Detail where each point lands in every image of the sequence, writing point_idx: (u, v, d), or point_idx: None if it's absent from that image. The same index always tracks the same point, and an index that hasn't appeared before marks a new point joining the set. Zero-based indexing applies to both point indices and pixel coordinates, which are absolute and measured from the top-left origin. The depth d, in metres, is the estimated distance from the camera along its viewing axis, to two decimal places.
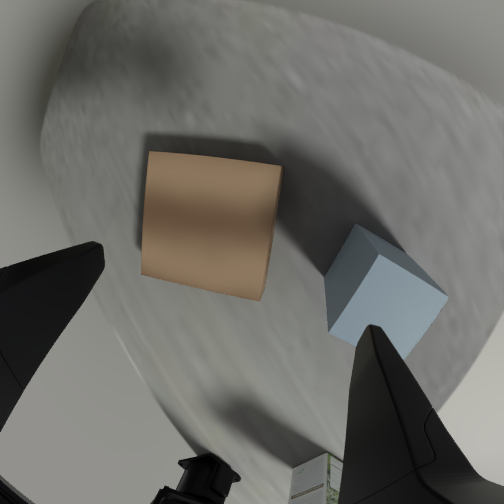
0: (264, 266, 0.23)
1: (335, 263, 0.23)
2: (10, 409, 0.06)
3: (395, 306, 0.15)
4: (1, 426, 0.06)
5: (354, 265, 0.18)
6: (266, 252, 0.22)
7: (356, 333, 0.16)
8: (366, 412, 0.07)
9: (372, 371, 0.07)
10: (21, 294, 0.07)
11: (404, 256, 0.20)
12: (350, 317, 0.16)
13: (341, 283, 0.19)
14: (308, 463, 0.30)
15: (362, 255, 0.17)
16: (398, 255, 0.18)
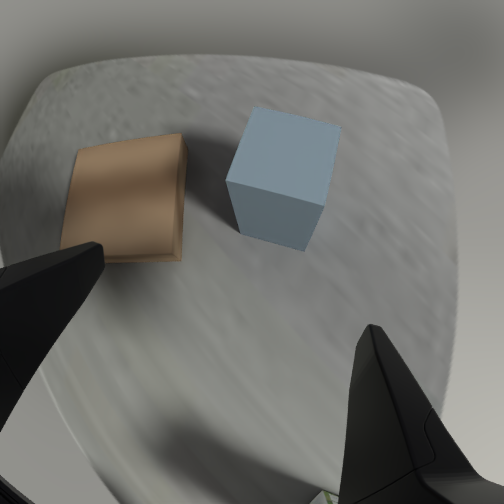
0: (173, 215, 0.22)
1: None
2: (10, 409, 0.06)
3: (287, 141, 0.16)
4: (1, 426, 0.06)
5: None
6: (173, 201, 0.22)
7: (256, 174, 0.15)
8: (366, 412, 0.07)
9: (372, 371, 0.07)
10: (21, 294, 0.07)
11: None
12: (244, 160, 0.15)
13: None
14: None
15: None
16: None
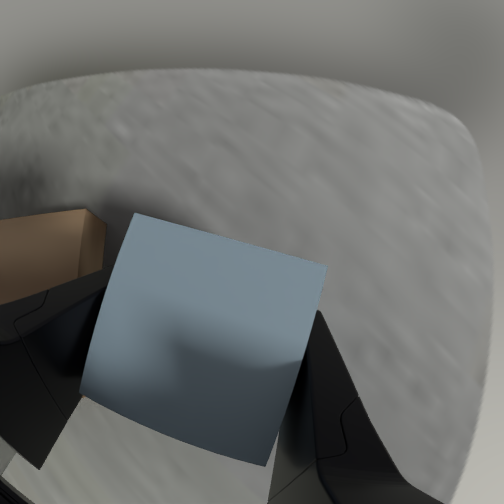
0: None
1: None
2: (52, 441, 0.06)
3: (194, 314, 0.07)
4: (43, 460, 0.06)
5: None
6: None
7: (129, 391, 0.07)
8: (293, 397, 0.07)
9: None
10: (68, 321, 0.06)
11: None
12: (107, 355, 0.07)
13: None
14: None
15: None
16: None
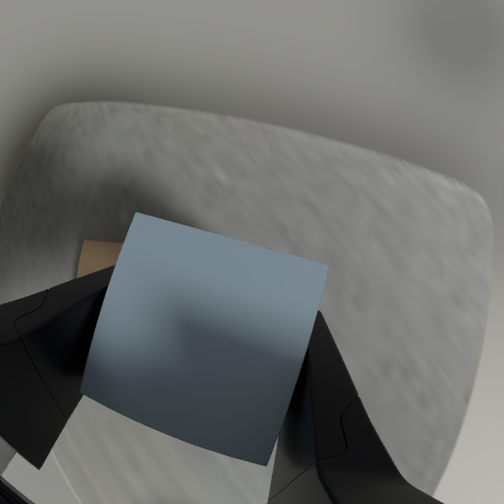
0: None
1: None
2: (52, 441, 0.06)
3: (196, 313, 0.07)
4: (43, 460, 0.06)
5: None
6: None
7: (130, 391, 0.07)
8: (293, 397, 0.07)
9: None
10: (68, 321, 0.06)
11: None
12: (108, 355, 0.07)
13: None
14: None
15: None
16: None
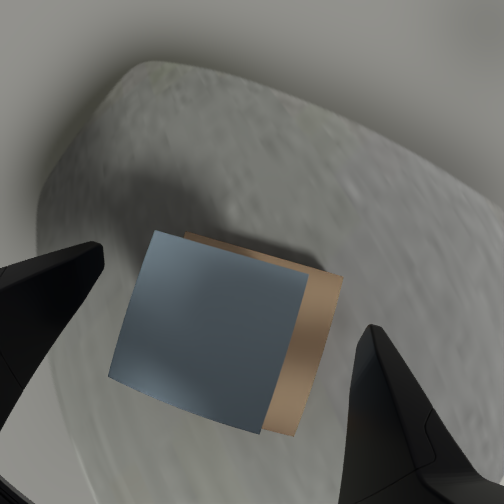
0: (308, 394, 0.16)
1: None
2: (9, 409, 0.06)
3: (204, 311, 0.09)
4: (1, 426, 0.06)
5: None
6: (313, 377, 0.17)
7: (151, 373, 0.09)
8: (367, 412, 0.07)
9: (373, 371, 0.07)
10: (20, 294, 0.07)
11: None
12: (133, 345, 0.09)
13: None
14: None
15: None
16: None
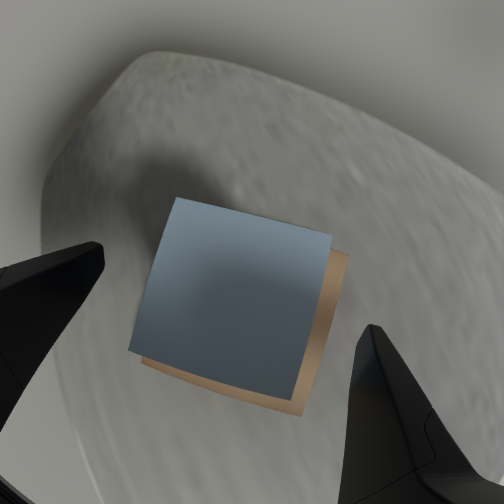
0: (315, 372, 0.17)
1: None
2: (10, 409, 0.06)
3: (231, 275, 0.09)
4: (1, 426, 0.06)
5: None
6: (320, 354, 0.17)
7: (175, 343, 0.09)
8: (366, 412, 0.07)
9: (372, 371, 0.07)
10: (21, 294, 0.07)
11: None
12: (156, 314, 0.09)
13: None
14: None
15: None
16: None
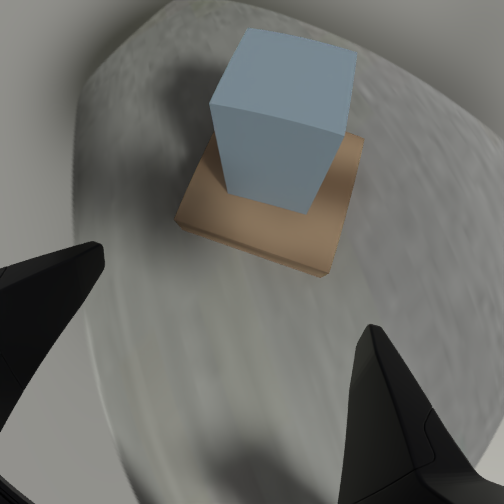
0: (340, 230, 0.19)
1: None
2: (10, 409, 0.06)
3: (291, 62, 0.11)
4: (1, 426, 0.06)
5: None
6: (344, 214, 0.19)
7: (251, 96, 0.10)
8: (366, 412, 0.07)
9: (372, 371, 0.07)
10: (21, 294, 0.07)
11: None
12: (235, 80, 0.11)
13: None
14: None
15: None
16: None
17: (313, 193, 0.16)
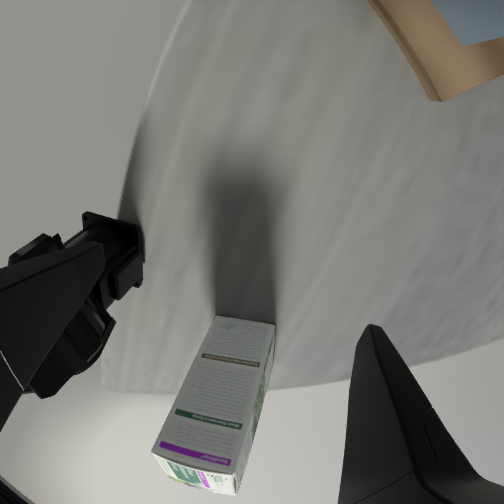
0: (476, 85, 0.12)
1: None
2: (10, 409, 0.06)
3: None
4: (1, 426, 0.06)
5: None
6: (489, 79, 0.12)
7: None
8: (366, 412, 0.07)
9: (372, 371, 0.07)
10: (21, 294, 0.07)
11: None
12: None
13: None
14: (243, 322, 0.27)
15: None
16: None
17: (485, 37, 0.08)
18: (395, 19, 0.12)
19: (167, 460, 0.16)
